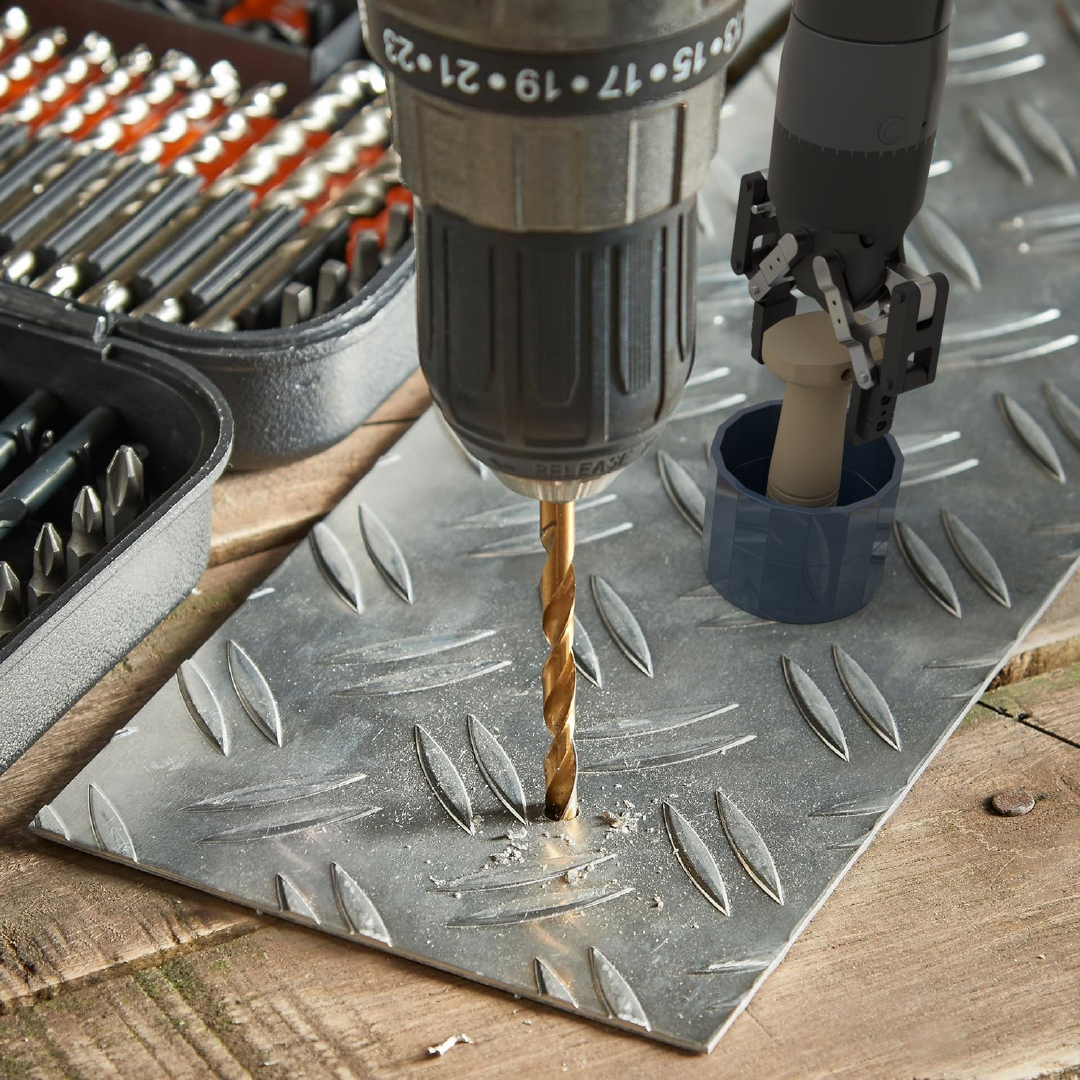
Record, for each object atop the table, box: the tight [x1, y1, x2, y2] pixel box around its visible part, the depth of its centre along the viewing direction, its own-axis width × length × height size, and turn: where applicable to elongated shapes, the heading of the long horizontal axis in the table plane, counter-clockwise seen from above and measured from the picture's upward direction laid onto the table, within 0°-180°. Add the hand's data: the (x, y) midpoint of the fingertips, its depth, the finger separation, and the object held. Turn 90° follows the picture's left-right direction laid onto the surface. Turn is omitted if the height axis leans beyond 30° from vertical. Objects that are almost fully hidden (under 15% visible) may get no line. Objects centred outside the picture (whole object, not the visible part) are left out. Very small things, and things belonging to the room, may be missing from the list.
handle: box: [762, 310, 883, 508], centre depth 84 cm, size 5×6×15 cm
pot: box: [700, 398, 906, 625], centre depth 87 cm, size 10×10×8 cm
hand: (815, 396), depth 82 cm, fingers open, 8 cm apart
